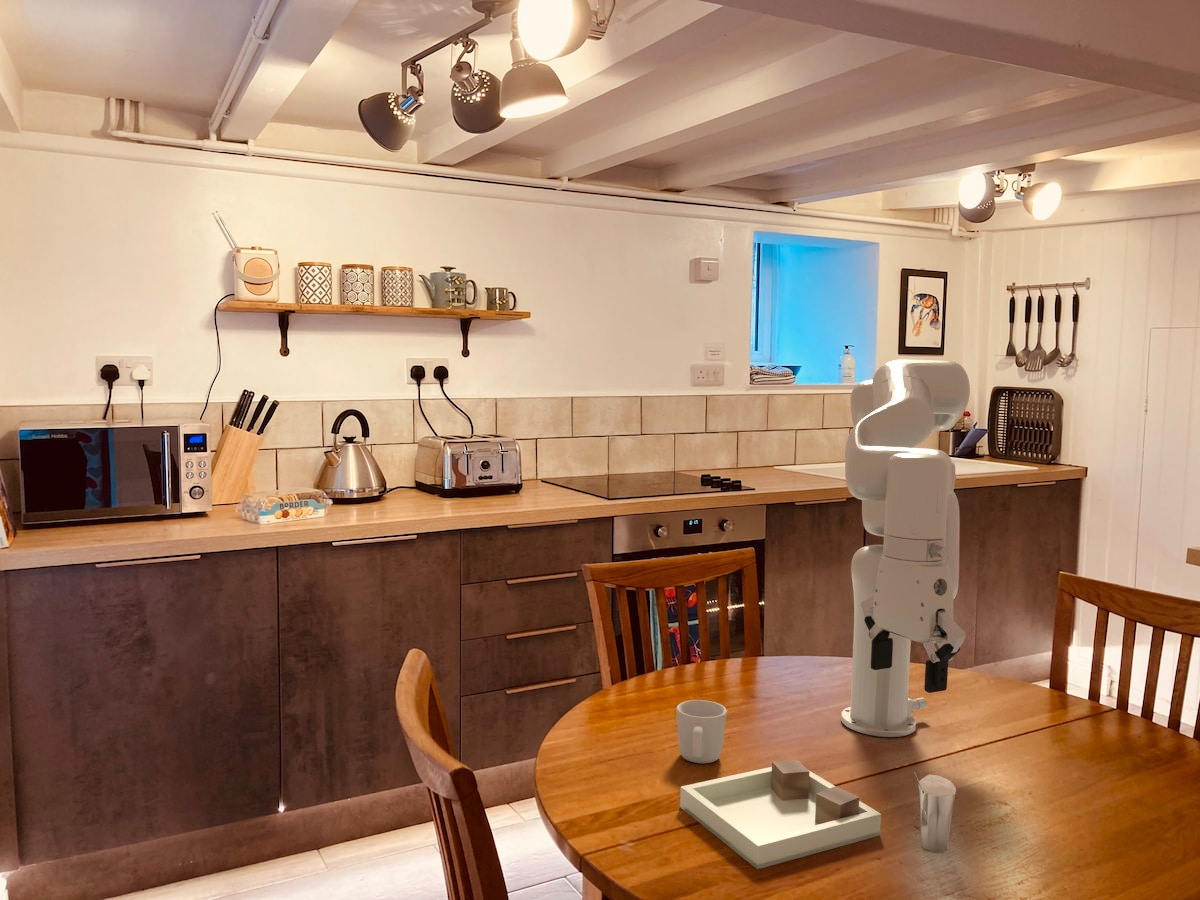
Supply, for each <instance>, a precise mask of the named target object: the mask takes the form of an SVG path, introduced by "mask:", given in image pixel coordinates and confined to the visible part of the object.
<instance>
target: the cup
mask: <svg viewBox="0 0 1200 900" xmlns="http://www.w3.org/2000/svg"><path fill="white" fill-rule="evenodd" d="M675 712H676V724H677V738H678V750H679V752H680V755H681V757H682V758H683V759H684V760H686V761H689V762H691V763H695V764H711V763H714V762H715V761H717V760H718V759H720V757H721V755H722V752H723V747H724V746H723V745H724V739H725V738H724V737H725V731H726V723H727V716H728V711H727V708H726V706H724V705H723V704H721V703H719V702H716V701H710V700H705V699H692V700H685V701H682V702H680V703H679V704H678V705H677V706H676V708H675Z"/></svg>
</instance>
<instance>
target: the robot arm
mask: <svg viewBox="0 0 1200 900" xmlns="http://www.w3.org/2000/svg"><path fill="white" fill-rule="evenodd" d="M872 377H873V378H872V379H869V380H865V381H861V382H859V383H857V384H856V385H855V386H854V387H853V388H852V391H851V394H850V413H851V418H852V419H851V420H852V424H853V427H852V429H851V431H850V433H849V435H848V436H847V440H846V444H845V451H844V455H845V456H844V461H845V462H844V466H845V467H844V473H845V474H844V476H845V477H844V478H845V481H846V482H845V484H846V487H847V489H848V492H849V493H850V495H852V497H854V498H856V499H857V500H861V518H862V519H861V520H862V525H863V527H864V529H865V531H866V532H868V533H869V534H870V535H875V536H876V537H877V536H878V537H883V544H870V545H869V544H868V545H866V546H863V547H860V548H859V549H858V550H856V551H855V552H854V554H853V556H852V559H851V567H850V569H851V570H850V571H851V581H852V589H853V604H854V605H853V608H854V609H853V610H854V612H853V615H854V616H853V643H852V666H851V667H852V668H851V687H850V689H851V690H850V706H848V707H846V708H844V709H843V710H842V711H841V712H840V720H841V722H842V724H843V725H844V726H846V727H847V728H848V729H850V730H853V731H855V732H857V733H861V734H863V735H867V736H873V737H880V738H881V737H882V738H900V737H905V736H908V735H911V734H913V733H914V732H915V731H916V729H917V721H916V719H915V718H914V717H913V716H912V713H914V711H916V710H923V709H926V708H927V707H928V702H927V700H926V698H925V697H923V696H921V697H918V698H917V697H916V698H913V699H912V698H911V697H910V696H909V684H910V683H909V682H910V681H909V679H910V664H911V663H910V661H911V647H912V646H911V643H912V641H914V642H916V643H921V644H922V645H923V647H924V649H925V651H926V653H927V656H928V658H929V659H928V660H926V661H925V667H924V669H925V670H924V684H923V685H924V686H923V687H924V688H923V689H924V691H925V692H926V693H929V694H932V693H937V692H943V691H946V690H947V688H948V673H949V671H948V670H949V661H952V660H953V659H954V656H955V655H957V654H958V653H959V652H960V651H961V647H962V645H963V643H964V641H965V639H966V638H967V634H966V632H965V630H964V629H962V627H961V626H959V624H958V623H956V622H955V621H954V600H955V598H956V596H957V593H958V591H959V590H958V589H959V579H960V526H961V525H960V517H961V516H960V505H959V500H958V497H957V495H956V493H955V491H954V490H955V484H956V478H957V474H956V464H955V462H953V461H952V459H951V457H950V455H949V454H948V453H946V452H945V451H944V450H940V449H936V448H924V447H915V446H918V445H919V444H922V443H923V442H924V441H926V440H927V439H928V437H930V436H931V433H932V432H933V431H935V432H937V431H938V432H939V431H940V432H942V431H948V430H951V429H952V428H953V427H955V425H956V424H957V423H958V421H959V420H960V419H961V417H962V416H963V414H964V413H965V411H966V409H967V406H968V403H969V400H970V395H971V393H970V392H971V391H970V390H971V387H970V386H971V385H970V380H969V376H968V373H967V371H966V370H965V368H964V366H962V365H961V364H960V363H959V362H956V361H953V360H942V359H941V360H939V359H937V360H935V359H933V360H931V359H896V360H892V361H888V362H885V363H884V364H882V365H881V366H880V367H878V369H877V370H876V371H875V373H874V375H873V376H872ZM935 644H936V645H937V647H938V649H937V648H936V645H935Z"/></svg>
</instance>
